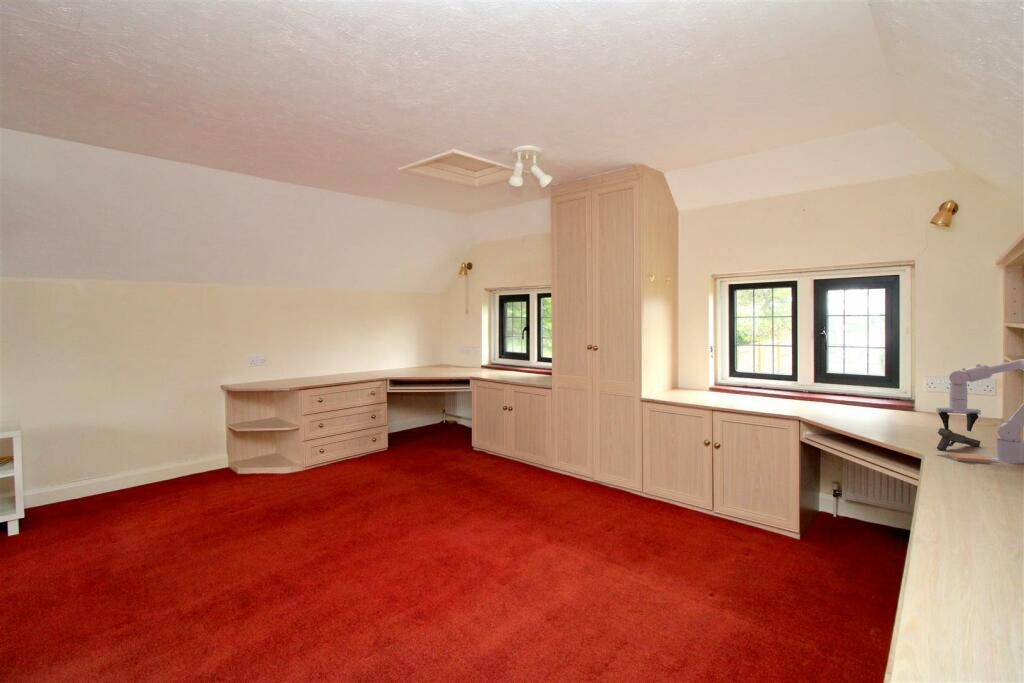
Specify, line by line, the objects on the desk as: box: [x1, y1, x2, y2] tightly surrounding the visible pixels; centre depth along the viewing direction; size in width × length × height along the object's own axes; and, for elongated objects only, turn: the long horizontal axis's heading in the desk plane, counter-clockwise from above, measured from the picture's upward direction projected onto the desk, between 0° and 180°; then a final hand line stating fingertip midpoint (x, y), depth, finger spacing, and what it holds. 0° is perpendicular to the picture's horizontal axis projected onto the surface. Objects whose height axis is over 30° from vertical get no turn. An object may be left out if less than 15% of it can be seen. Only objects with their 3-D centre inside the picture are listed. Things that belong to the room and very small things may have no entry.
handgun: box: [936, 427, 981, 451], centre depth 226 cm, size 4×24×10 cm, turn 107°
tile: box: [948, 452, 989, 464], centre depth 208 cm, size 2×10×8 cm
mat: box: [936, 453, 1001, 465], centre depth 209 cm, size 14×14×1 cm
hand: (957, 430), depth 217 cm, fingers open, 7 cm apart
